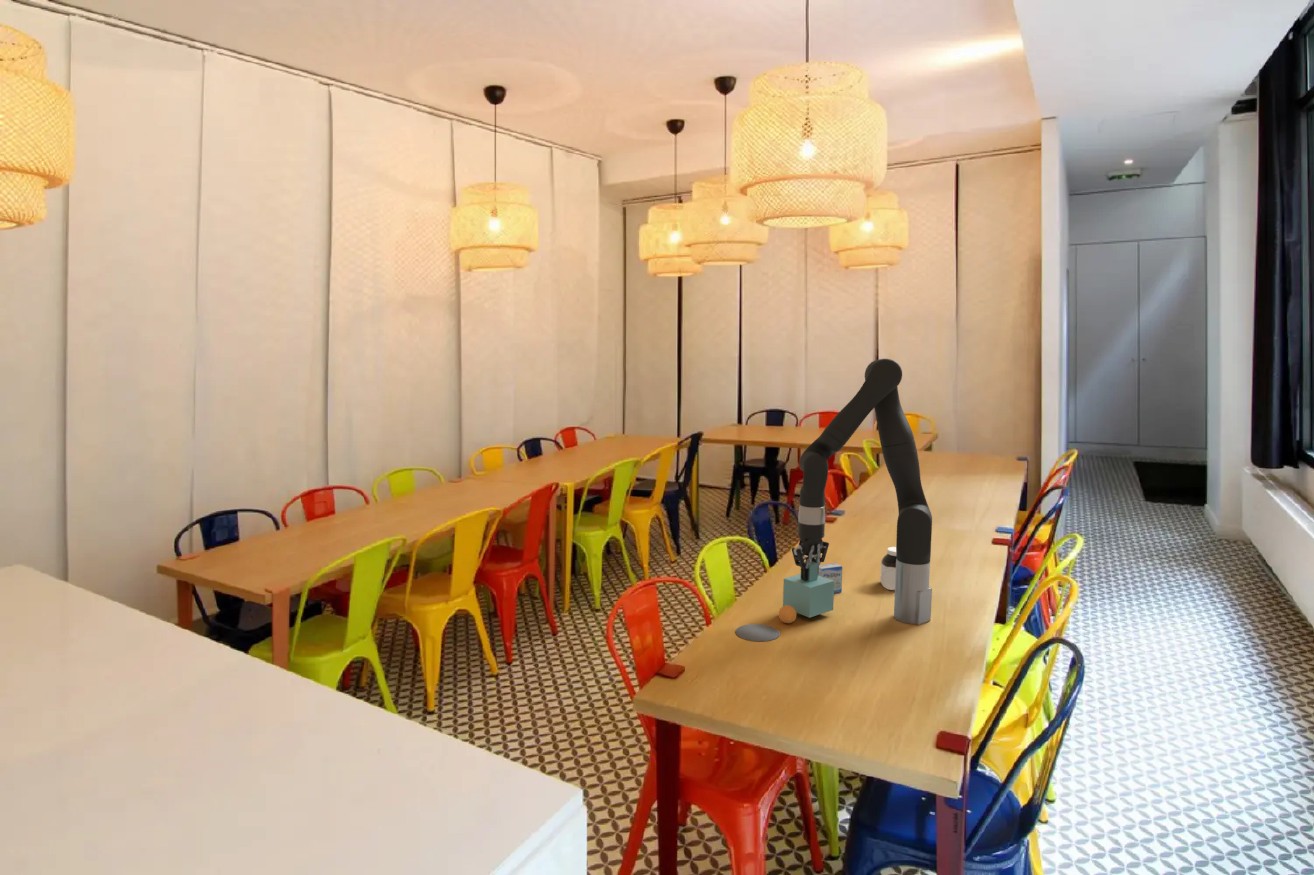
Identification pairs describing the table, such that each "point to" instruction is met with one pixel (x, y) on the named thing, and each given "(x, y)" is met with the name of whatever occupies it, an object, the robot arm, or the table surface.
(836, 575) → the medicine box
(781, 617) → the ball
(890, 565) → the spread jar
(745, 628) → the spot
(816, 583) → the teal cube with peg
